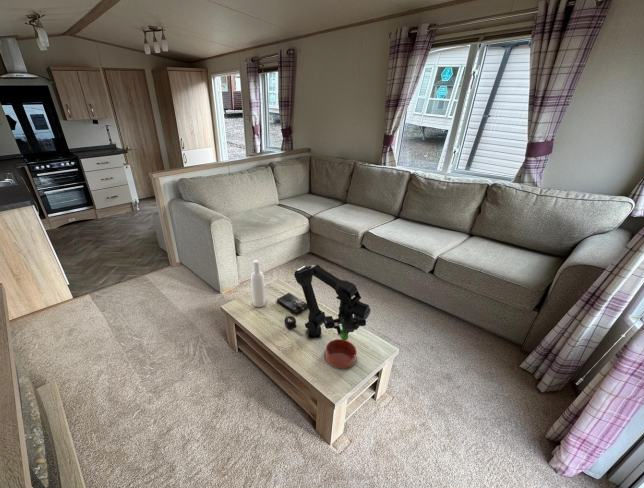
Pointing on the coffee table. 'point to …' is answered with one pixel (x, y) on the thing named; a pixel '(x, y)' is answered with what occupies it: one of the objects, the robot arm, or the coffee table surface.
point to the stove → (291, 304)
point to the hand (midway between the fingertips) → (342, 334)
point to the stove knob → (298, 303)
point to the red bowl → (341, 353)
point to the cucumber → (343, 334)
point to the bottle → (258, 285)
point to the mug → (290, 322)
